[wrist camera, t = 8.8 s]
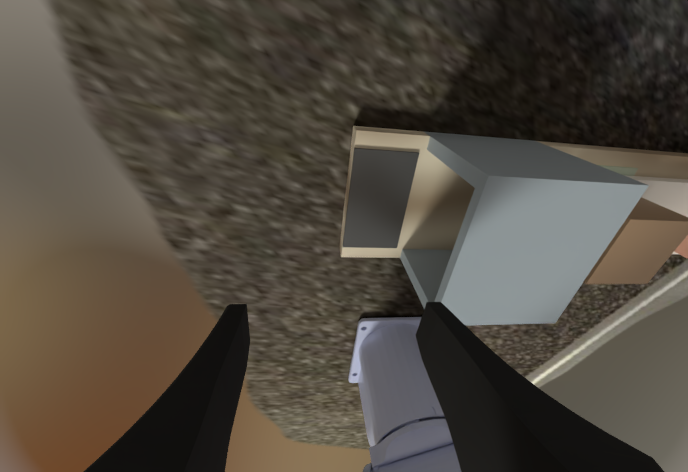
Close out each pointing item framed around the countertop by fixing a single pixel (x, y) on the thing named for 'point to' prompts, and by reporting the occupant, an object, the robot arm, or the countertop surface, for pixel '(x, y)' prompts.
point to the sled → (646, 235)
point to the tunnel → (520, 230)
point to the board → (440, 189)
